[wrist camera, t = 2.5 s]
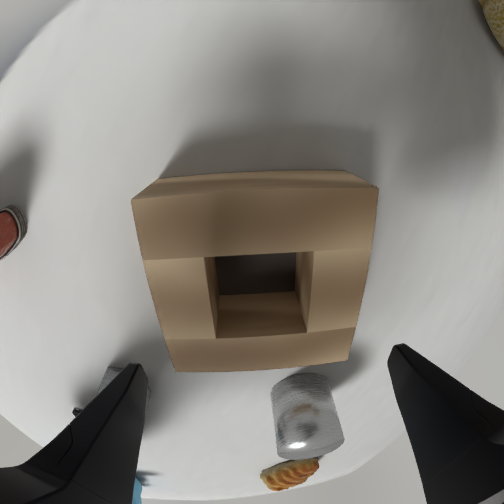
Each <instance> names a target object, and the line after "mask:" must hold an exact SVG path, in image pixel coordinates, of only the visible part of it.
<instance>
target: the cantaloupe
mask: <svg viewBox="0 0 504 504" xmlns="http://www.w3.org/2000/svg"><path fill="white" fill-rule="evenodd" d="M479 3H480V5H481V7H482V9H483V12H484V16H485V18H486V21H487V23H488V25H489V27H490V29H491V31H492V33H493V35H494V37H495V38H496V40H497V41H498V43H499V44H500V46H501V47H502V49H503V50H504V0H479Z"/></svg>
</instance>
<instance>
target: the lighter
mask: <svg viewBox="0 0 504 504" xmlns="http://www.w3.org/2000/svg"><path fill="white" fill-rule="evenodd" d="M26 233H27V224H26V220H25V217H24V215H23V213H22V211H21V210H20V209H19V208H18V207H17V206H15V205H9V206H7V207H5V208H3V209H1V210H0V261H1V260H3V259H4V258H5V257H6V256H8V255H9V254H10V253H11V252H12V251H13V250H14V249H15V248H16V247H17V246H18V245H19V243H20V242H21V241H22V239H23V238H24V237H25V235H26Z"/></svg>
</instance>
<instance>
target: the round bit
mask: <svg viewBox="0 0 504 504" xmlns="http://www.w3.org/2000/svg"><path fill="white" fill-rule="evenodd" d="M271 400H272V409H273V418H274V427H275V435H276V444H277V453H278V455H279V456H280V457H282V458H284V459H290V460H302V459H309V458H314V457H318V456H322V455H325V454H327V453H330V452H332V451H334V450H335V449H337V448H338V447H340V446H341V445H342V444H343V442H344V436H343V432H342V429H341V425H340V422H339V418H338V414H337V411H336V407H335V404H334V400H333V397H332V394H331V390H330V387H329V383H328V381H327V379H326V378H325V377H323V376H321V375H319V374H314V373H302V374H297V375H293V376H290V377H287V378H285V379H283V380H281V381H280V382H278V383H277V384H276V385H275V386H274V387H273V388H272V390H271Z"/></svg>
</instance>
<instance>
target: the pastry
mask: <svg viewBox="0 0 504 504" xmlns="http://www.w3.org/2000/svg"><path fill="white" fill-rule="evenodd" d="M318 468H319V463H318V458H317V459H314V458H309V459H302V460H292V461H288V462H283V463H280V464H278V465H275V466H273V467H270V468H268V469H265V470H264V471H263V472H262V473H261V474H260V478H261V479H262V480H263V482H264V483H265V484H266V485H267V487H268V488H269V489H271V490H273V491H281V490H284V489H288V488H289V487H293V486H296V485H299V484H302V483H303V482H305V481H306V480H307V478H308V477H310V476H311V475H313V474H314V473H315V471H317V469H318Z"/></svg>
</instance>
